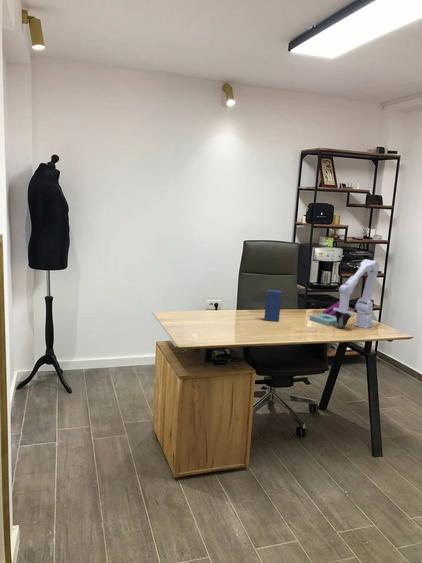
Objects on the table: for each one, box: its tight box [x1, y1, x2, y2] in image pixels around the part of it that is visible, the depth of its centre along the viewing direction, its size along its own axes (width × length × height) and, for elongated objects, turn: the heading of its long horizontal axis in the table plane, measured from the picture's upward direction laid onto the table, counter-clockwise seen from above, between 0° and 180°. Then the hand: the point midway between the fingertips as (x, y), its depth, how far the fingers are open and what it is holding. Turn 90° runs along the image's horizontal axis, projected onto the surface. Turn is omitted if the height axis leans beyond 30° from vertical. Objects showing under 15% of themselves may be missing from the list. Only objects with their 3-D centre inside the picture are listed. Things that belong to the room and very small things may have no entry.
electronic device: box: [263, 289, 283, 322], centre depth 303 cm, size 10×5×20 cm, turn 84°
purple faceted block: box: [322, 301, 350, 317], centre depth 329 cm, size 10×8×18 cm
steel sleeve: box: [337, 316, 346, 330], centre depth 297 cm, size 4×4×7 cm
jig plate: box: [309, 313, 338, 327], centre depth 311 cm, size 16×16×3 cm
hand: (341, 324), depth 297 cm, fingers closed on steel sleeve, 4 cm apart
